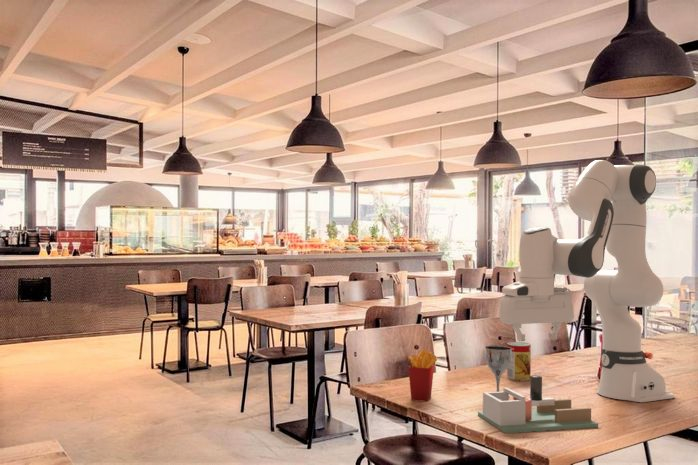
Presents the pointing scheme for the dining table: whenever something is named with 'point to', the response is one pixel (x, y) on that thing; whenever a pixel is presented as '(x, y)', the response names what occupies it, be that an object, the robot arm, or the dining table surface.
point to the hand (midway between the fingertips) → (537, 339)
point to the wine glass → (498, 360)
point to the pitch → (544, 418)
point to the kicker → (535, 397)
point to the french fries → (421, 375)
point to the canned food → (519, 361)
